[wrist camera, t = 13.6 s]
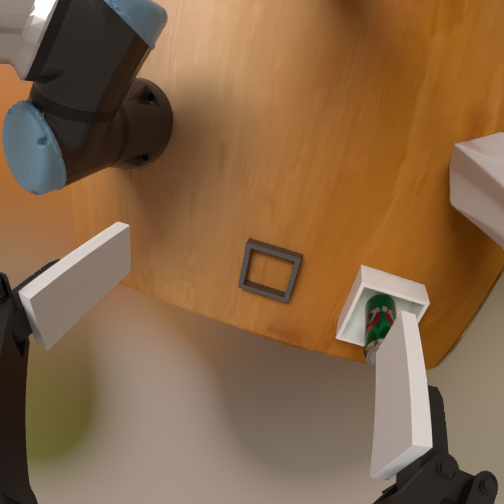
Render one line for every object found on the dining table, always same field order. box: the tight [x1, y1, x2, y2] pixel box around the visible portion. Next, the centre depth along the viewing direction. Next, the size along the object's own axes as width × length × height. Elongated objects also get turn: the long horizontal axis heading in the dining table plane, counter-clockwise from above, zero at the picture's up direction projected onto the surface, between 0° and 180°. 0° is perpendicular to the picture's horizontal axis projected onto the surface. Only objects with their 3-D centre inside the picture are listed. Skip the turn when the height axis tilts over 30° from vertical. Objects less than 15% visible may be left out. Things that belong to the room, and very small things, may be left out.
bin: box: [336, 265, 430, 346], centre depth 46 cm, size 11×11×5 cm
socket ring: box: [238, 238, 303, 303], centre depth 50 cm, size 9×9×2 cm
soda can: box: [364, 294, 397, 367], centre depth 42 cm, size 5×5×12 cm
